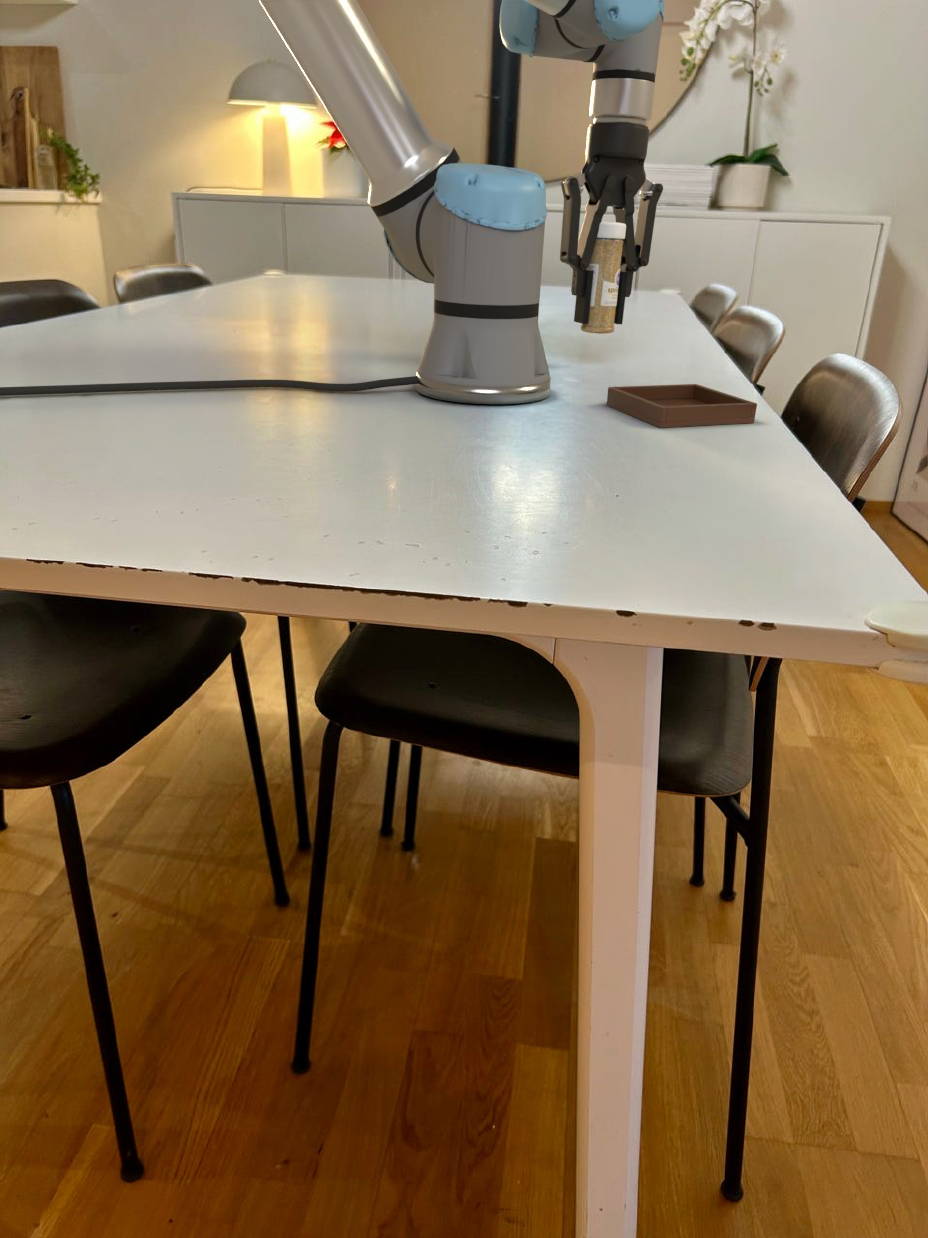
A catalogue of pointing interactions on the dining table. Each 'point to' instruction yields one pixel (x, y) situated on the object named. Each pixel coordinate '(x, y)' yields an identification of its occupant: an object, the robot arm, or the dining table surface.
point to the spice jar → (605, 277)
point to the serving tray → (681, 405)
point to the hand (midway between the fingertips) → (598, 322)
